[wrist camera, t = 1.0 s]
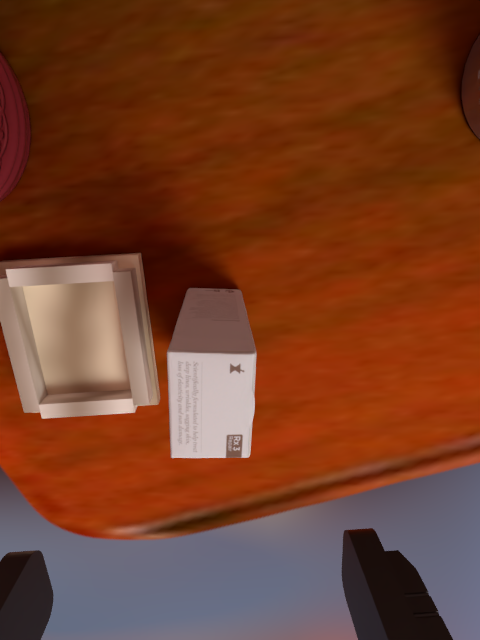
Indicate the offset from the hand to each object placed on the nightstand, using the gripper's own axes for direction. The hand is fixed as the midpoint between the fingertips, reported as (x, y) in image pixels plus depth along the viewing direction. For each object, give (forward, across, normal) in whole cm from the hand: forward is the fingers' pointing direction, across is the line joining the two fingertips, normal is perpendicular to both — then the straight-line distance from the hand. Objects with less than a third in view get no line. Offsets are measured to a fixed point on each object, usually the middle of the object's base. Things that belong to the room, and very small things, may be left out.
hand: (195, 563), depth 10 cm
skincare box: (+20, 0, 0) cm, 20 cm away
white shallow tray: (+20, +10, 0) cm, 22 cm away
